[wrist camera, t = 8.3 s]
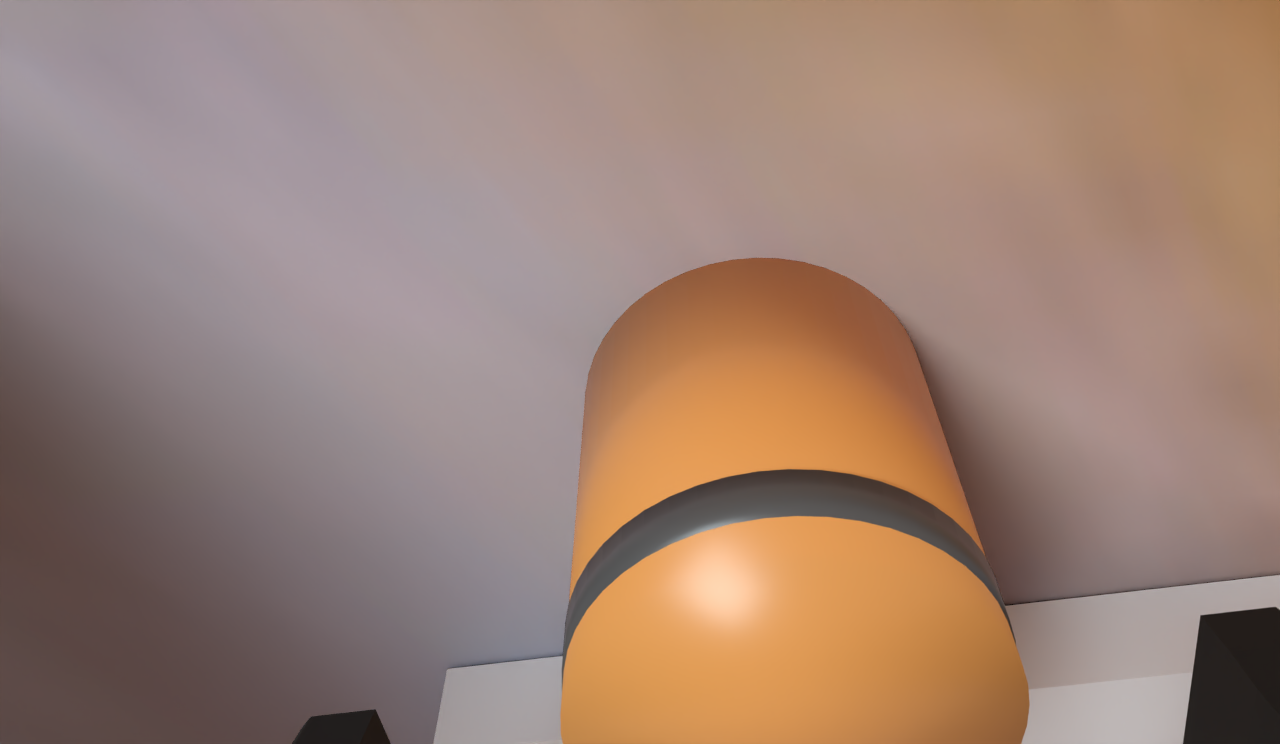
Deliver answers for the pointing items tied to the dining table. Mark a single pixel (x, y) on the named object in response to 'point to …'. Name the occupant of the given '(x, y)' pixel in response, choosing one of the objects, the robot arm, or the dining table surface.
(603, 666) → the cap
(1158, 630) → the board
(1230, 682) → the robot arm
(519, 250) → the dining table surface
